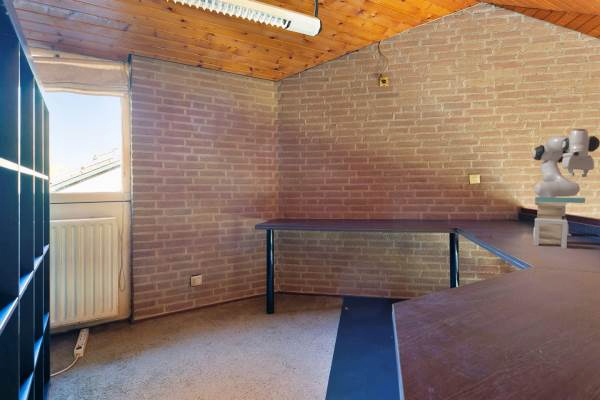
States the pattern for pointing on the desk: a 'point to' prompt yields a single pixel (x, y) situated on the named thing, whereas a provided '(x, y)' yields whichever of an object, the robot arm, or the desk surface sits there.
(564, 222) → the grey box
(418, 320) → the desk surface
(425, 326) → the desk surface
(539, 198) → the teal rectangular bar
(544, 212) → the birch shelf
